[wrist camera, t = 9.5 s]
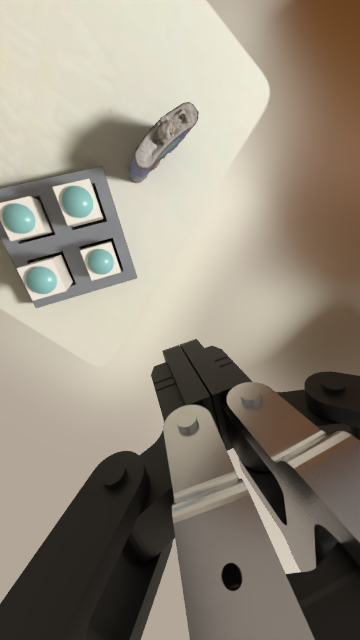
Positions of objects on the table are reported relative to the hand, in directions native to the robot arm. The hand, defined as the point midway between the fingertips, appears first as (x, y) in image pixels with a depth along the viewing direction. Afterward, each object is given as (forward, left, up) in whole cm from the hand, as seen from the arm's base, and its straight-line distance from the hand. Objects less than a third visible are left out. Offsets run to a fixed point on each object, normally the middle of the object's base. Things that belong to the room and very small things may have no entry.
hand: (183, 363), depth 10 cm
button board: (-6, -7, -32) cm, 33 cm away
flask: (-14, +8, -32) cm, 36 cm away
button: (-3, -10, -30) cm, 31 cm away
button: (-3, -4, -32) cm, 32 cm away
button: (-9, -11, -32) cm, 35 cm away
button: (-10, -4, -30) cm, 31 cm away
